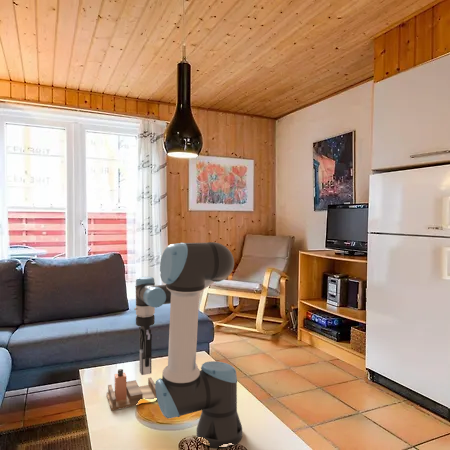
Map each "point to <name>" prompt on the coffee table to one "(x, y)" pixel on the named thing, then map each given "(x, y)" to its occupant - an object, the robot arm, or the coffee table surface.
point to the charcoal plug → (142, 361)
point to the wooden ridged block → (132, 394)
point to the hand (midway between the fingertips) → (145, 371)
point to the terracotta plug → (120, 385)
